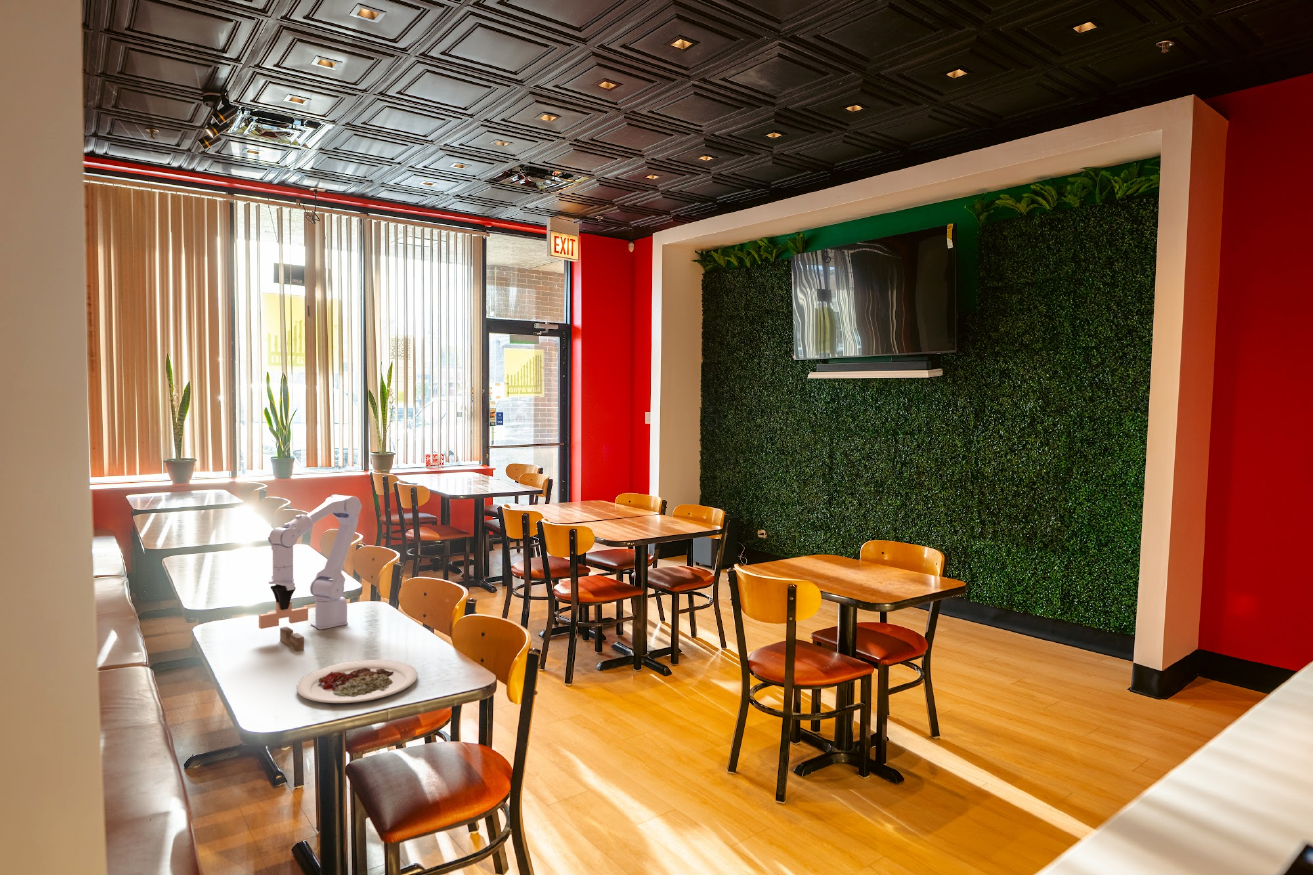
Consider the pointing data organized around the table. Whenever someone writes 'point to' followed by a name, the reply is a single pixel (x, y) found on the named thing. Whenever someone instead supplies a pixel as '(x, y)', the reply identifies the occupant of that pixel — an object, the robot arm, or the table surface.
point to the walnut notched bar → (292, 638)
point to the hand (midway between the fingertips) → (283, 608)
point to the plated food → (356, 681)
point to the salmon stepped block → (283, 616)
